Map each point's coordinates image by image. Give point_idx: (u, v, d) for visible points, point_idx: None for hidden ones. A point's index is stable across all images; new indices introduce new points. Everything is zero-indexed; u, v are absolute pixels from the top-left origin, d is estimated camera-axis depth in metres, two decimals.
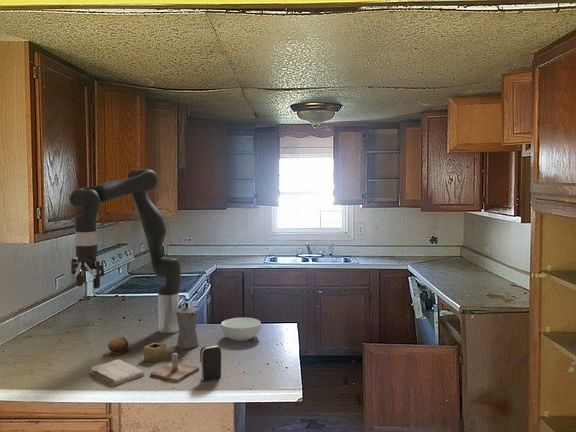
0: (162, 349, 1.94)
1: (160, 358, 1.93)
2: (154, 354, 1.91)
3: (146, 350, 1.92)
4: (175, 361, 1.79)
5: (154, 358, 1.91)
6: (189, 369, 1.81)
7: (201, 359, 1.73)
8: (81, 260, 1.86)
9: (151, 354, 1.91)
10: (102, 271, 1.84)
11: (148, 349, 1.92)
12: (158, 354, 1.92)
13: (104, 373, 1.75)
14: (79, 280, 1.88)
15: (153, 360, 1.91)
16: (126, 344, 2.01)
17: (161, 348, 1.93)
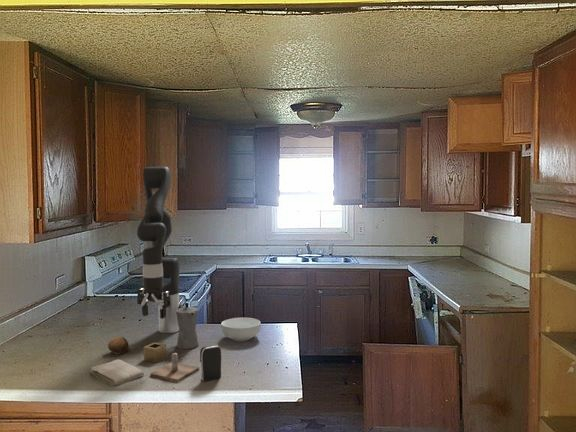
0: (162, 349, 1.94)
1: (160, 358, 1.93)
2: (154, 354, 1.91)
3: (146, 350, 1.92)
4: (175, 361, 1.79)
5: (154, 358, 1.91)
6: (189, 369, 1.81)
7: (201, 359, 1.73)
8: (148, 291, 1.92)
9: (151, 354, 1.91)
10: (168, 302, 1.91)
11: (148, 349, 1.92)
12: (158, 354, 1.92)
13: (104, 373, 1.75)
14: (145, 310, 1.95)
15: (153, 360, 1.91)
16: (126, 344, 2.01)
17: (161, 348, 1.93)
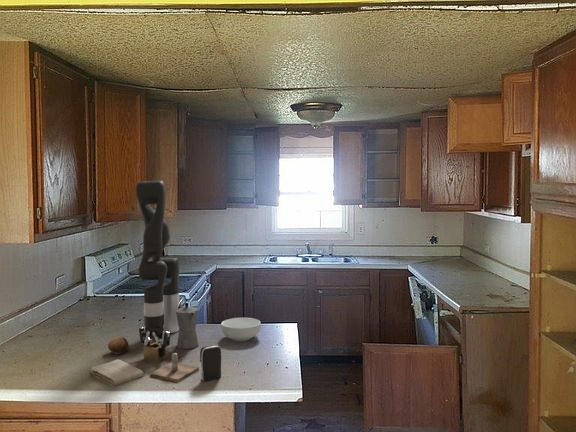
0: None
1: (160, 358, 1.93)
2: (154, 354, 1.91)
3: (146, 350, 1.92)
4: (175, 361, 1.79)
5: (154, 358, 1.91)
6: (189, 369, 1.81)
7: (201, 359, 1.73)
8: (149, 329, 1.93)
9: (151, 354, 1.91)
10: (168, 341, 1.92)
11: (148, 349, 1.92)
12: (158, 354, 1.92)
13: (104, 373, 1.75)
14: None
15: (153, 360, 1.91)
16: (126, 344, 2.01)
17: None
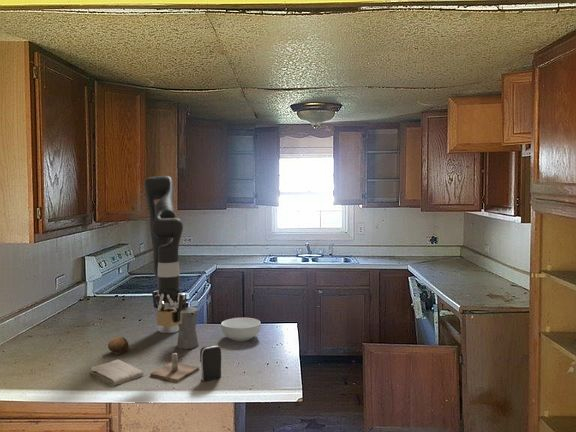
0: None
1: (175, 323, 1.78)
2: (168, 318, 1.76)
3: (160, 314, 1.78)
4: (175, 361, 1.79)
5: (168, 323, 1.76)
6: (189, 369, 1.81)
7: (201, 359, 1.73)
8: (163, 291, 1.79)
9: (165, 318, 1.77)
10: (184, 305, 1.77)
11: (162, 313, 1.77)
12: (173, 319, 1.77)
13: (103, 373, 1.75)
14: None
15: (167, 325, 1.76)
16: (126, 344, 2.01)
17: None
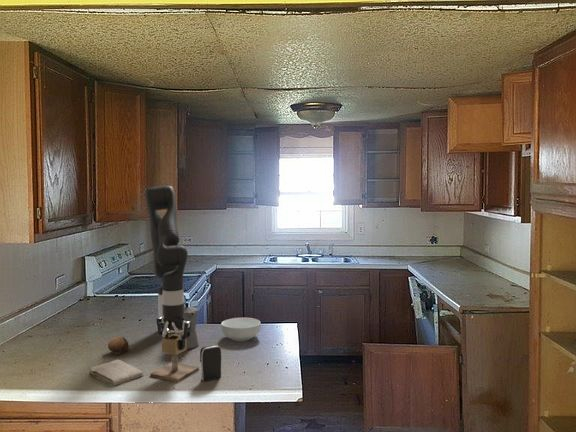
0: None
1: (180, 351, 1.78)
2: (173, 346, 1.76)
3: (164, 342, 1.77)
4: (175, 361, 1.79)
5: (173, 351, 1.76)
6: (189, 369, 1.81)
7: (201, 359, 1.73)
8: (167, 319, 1.79)
9: (170, 346, 1.76)
10: (188, 332, 1.77)
11: (167, 341, 1.77)
12: (178, 347, 1.77)
13: (103, 373, 1.75)
14: None
15: (172, 353, 1.76)
16: (126, 344, 2.01)
17: None
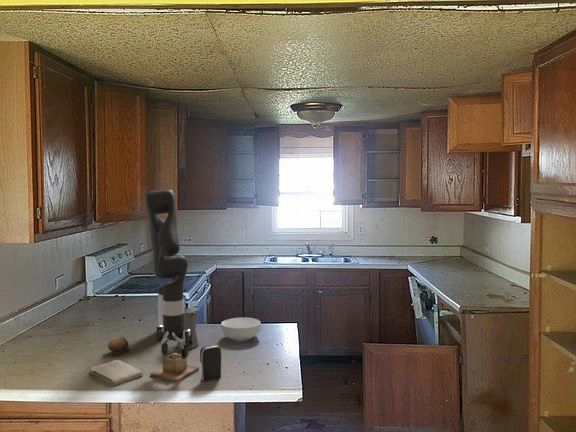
0: (182, 360, 1.79)
1: (180, 370, 1.79)
2: (174, 366, 1.76)
3: (165, 361, 1.78)
4: None
5: (174, 370, 1.77)
6: (189, 369, 1.81)
7: (201, 359, 1.73)
8: (168, 329, 1.79)
9: (171, 366, 1.77)
10: (190, 341, 1.77)
11: (167, 360, 1.78)
12: (178, 366, 1.77)
13: (103, 373, 1.75)
14: (165, 349, 1.81)
15: (173, 372, 1.77)
16: (126, 344, 2.01)
17: (181, 359, 1.79)
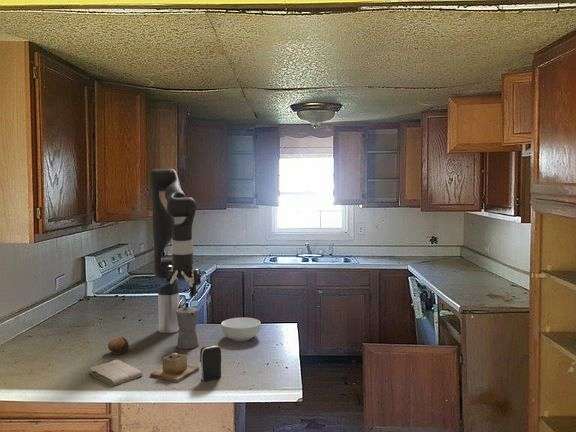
0: (182, 360, 1.79)
1: (180, 370, 1.79)
2: (174, 366, 1.76)
3: (165, 361, 1.78)
4: None
5: (174, 370, 1.77)
6: (189, 369, 1.81)
7: (201, 359, 1.73)
8: (177, 268, 1.86)
9: (171, 366, 1.77)
10: (199, 279, 1.84)
11: (167, 360, 1.78)
12: (178, 366, 1.77)
13: (102, 373, 1.75)
14: (174, 288, 1.88)
15: (173, 372, 1.77)
16: (126, 344, 2.01)
17: (181, 359, 1.79)
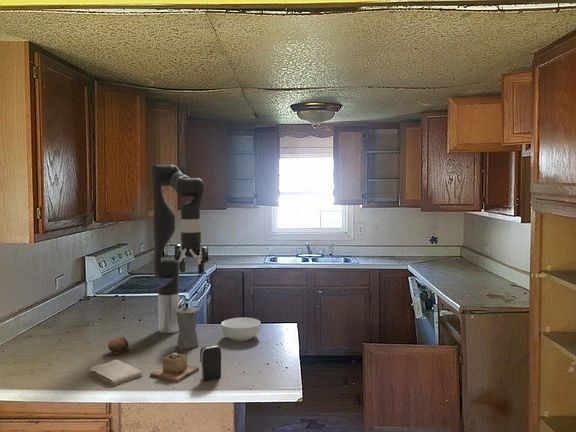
0: (182, 360, 1.79)
1: (180, 370, 1.79)
2: (174, 366, 1.76)
3: (165, 361, 1.78)
4: None
5: (174, 370, 1.77)
6: (189, 369, 1.81)
7: (201, 359, 1.73)
8: (185, 246, 1.93)
9: (171, 366, 1.77)
10: (207, 257, 1.91)
11: (167, 360, 1.78)
12: (178, 366, 1.77)
13: (102, 373, 1.75)
14: (182, 266, 1.95)
15: (173, 372, 1.77)
16: (126, 344, 2.01)
17: (181, 359, 1.79)
